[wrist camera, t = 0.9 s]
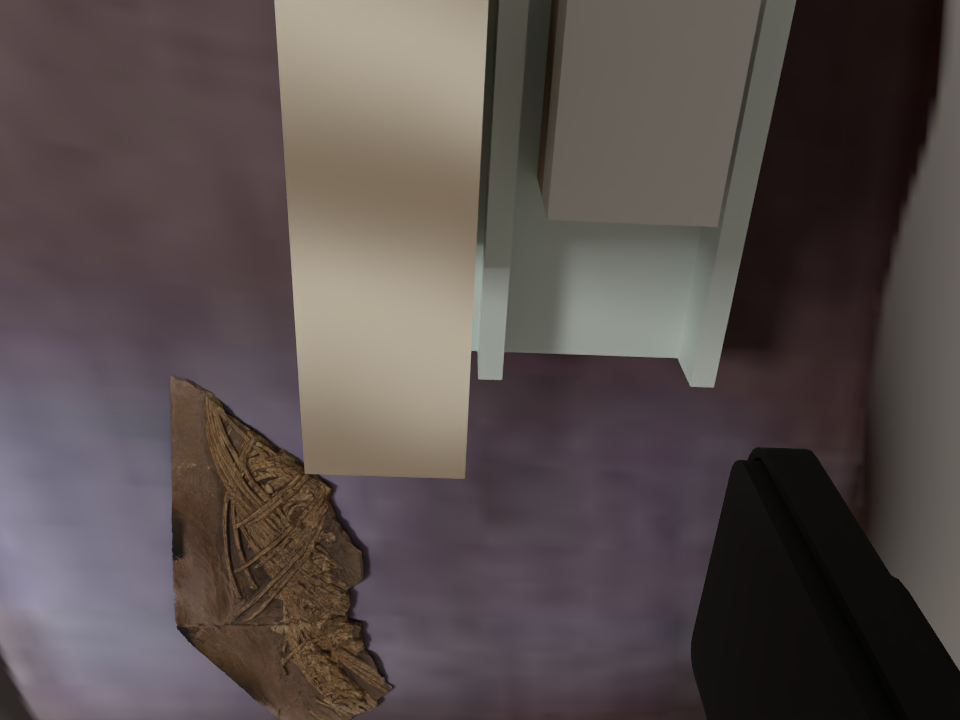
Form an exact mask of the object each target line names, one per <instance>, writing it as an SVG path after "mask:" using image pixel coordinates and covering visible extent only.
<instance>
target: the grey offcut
mask: <svg viewBox="0 0 960 720" xmlns="http://www.w3.org/2000/svg"><path fill="white" fill-rule="evenodd" d="M760 5H761V0H559V5H558V17H557V28H556V39H555V51H554V62H553V74H552V85H551V97H550V108H549V120H548V131H547V143H546V154H545V166H544V177H543V188H542V200H543V204H544V208H545V212H546V217H547V220H560V221H584V222H608V223H632V224H656V225H679V226H703V227H717V226H718V221H719V216H720V210H721V205H722V200H723V195H724V190H725V185H726V180H727V174H728V169H729V164H730V159H731V154H732V149H733V144H734V139H735V133H736V128H737V123H738V118H739V113H740V108H741V103H742V98H743V92H744V87H745V82H746V77H747V72H748V67H749V62H750V56H751V51H752V46H753V41H754V36H755V31H756V26H757V21H758V15H759V10H760Z"/></svg>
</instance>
